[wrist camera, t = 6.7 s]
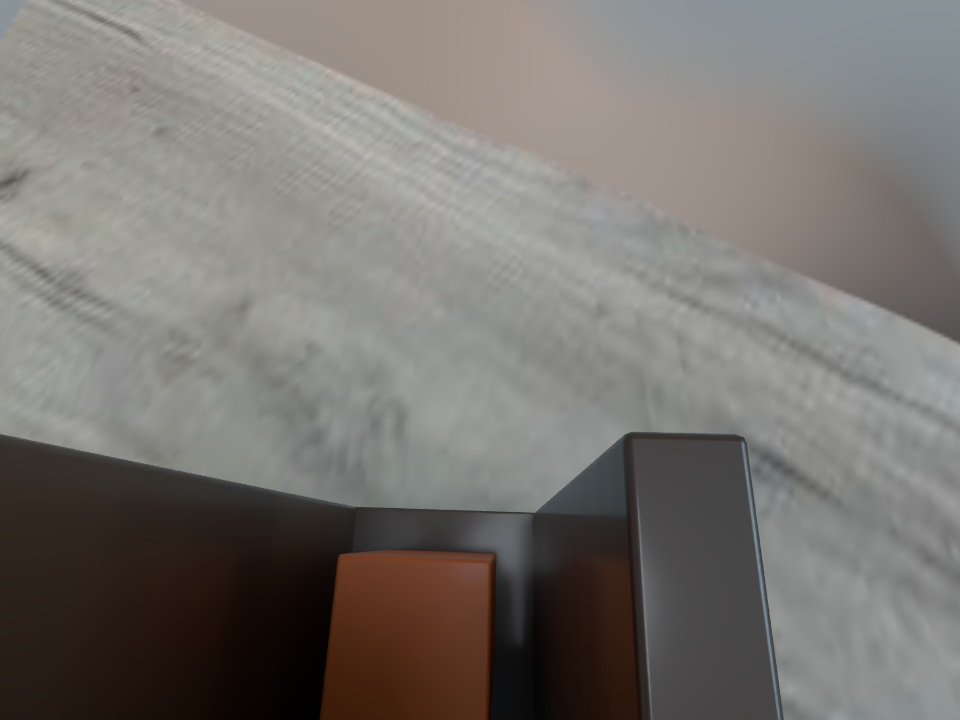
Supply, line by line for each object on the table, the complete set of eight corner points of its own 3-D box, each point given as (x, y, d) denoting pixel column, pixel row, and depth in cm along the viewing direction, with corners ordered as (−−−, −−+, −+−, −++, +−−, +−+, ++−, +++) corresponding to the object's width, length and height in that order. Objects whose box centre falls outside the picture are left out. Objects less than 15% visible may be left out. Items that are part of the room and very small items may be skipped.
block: (494, 678, 13) (488, 748, 9) (377, 672, 13) (315, 737, 9) (496, 552, 14) (492, 559, 10) (388, 549, 14) (336, 554, 10)
